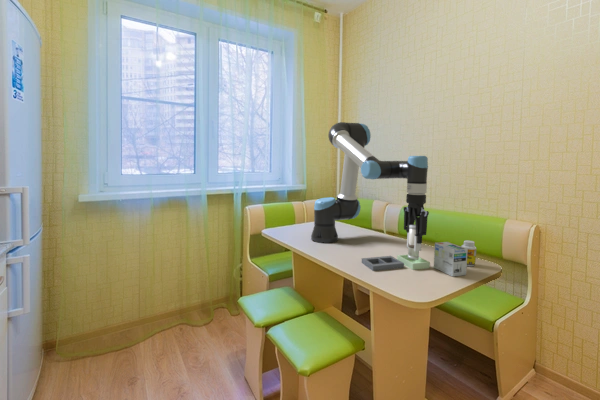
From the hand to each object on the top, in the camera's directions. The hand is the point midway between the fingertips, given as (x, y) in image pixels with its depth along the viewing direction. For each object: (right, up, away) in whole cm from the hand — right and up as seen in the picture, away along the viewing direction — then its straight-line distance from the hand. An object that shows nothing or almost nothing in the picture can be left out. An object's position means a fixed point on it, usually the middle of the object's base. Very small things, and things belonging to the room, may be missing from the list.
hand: (413, 248), depth 124 cm
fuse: (0, -4, 0) cm, 4 cm away
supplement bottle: (+24, -7, +2) cm, 25 cm away
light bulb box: (+12, -8, -6) cm, 16 cm away
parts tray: (0, -7, +1) cm, 7 cm away
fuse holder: (-13, -7, 0) cm, 15 cm away
